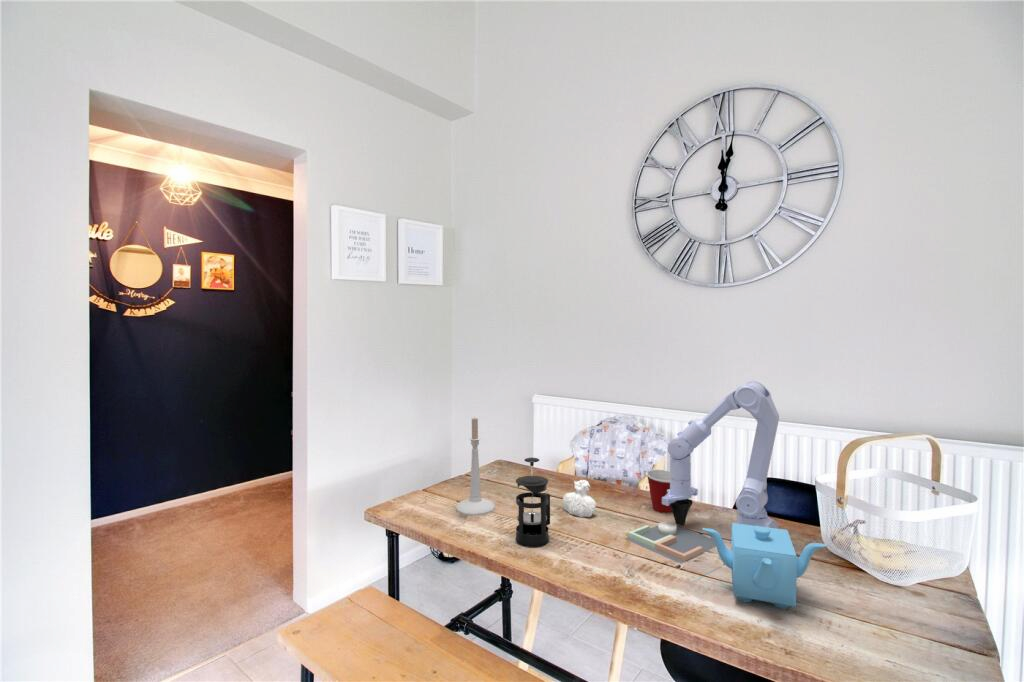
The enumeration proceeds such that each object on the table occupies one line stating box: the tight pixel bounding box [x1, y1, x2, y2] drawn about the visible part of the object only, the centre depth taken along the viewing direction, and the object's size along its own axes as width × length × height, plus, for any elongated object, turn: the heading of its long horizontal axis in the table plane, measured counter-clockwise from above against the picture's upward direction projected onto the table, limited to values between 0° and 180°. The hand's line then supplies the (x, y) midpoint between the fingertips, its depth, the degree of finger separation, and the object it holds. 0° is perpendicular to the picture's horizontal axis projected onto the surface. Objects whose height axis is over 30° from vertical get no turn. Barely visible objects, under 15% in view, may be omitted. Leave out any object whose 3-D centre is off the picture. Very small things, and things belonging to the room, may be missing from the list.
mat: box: [624, 524, 717, 564], centre depth 139 cm, size 18×19×1 cm
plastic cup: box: [645, 468, 673, 514], centre depth 162 cm, size 11×11×12 cm
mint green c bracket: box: [627, 524, 673, 549], centre depth 141 cm, size 9×8×1 cm
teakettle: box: [701, 522, 828, 610], centre depth 113 cm, size 19×19×15 cm
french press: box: [515, 457, 551, 549], centre depth 142 cm, size 12×9×23 cm
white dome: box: [657, 521, 678, 536], centre depth 145 cm, size 5×5×2 cm
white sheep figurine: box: [562, 479, 597, 518], centre depth 162 cm, size 12×8×11 cm
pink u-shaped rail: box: [655, 536, 703, 563], centre depth 133 cm, size 9×8×1 cm
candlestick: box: [455, 417, 496, 517], centre depth 166 cm, size 13×13×30 cm
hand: (679, 524), depth 149 cm, fingers closed
